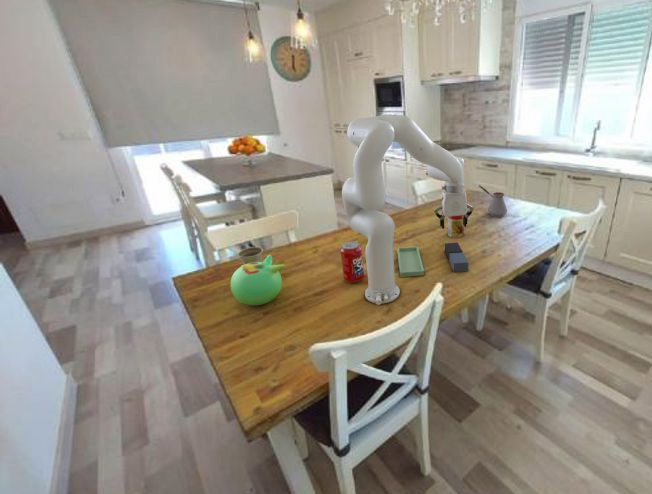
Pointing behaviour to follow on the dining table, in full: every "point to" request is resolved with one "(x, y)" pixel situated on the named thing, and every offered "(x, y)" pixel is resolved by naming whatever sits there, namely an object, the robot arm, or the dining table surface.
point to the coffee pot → (496, 204)
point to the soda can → (352, 261)
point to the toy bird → (257, 282)
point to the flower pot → (251, 255)
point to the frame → (410, 261)
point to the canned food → (455, 226)
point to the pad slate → (458, 262)
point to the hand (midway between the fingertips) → (453, 226)
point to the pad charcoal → (452, 248)
